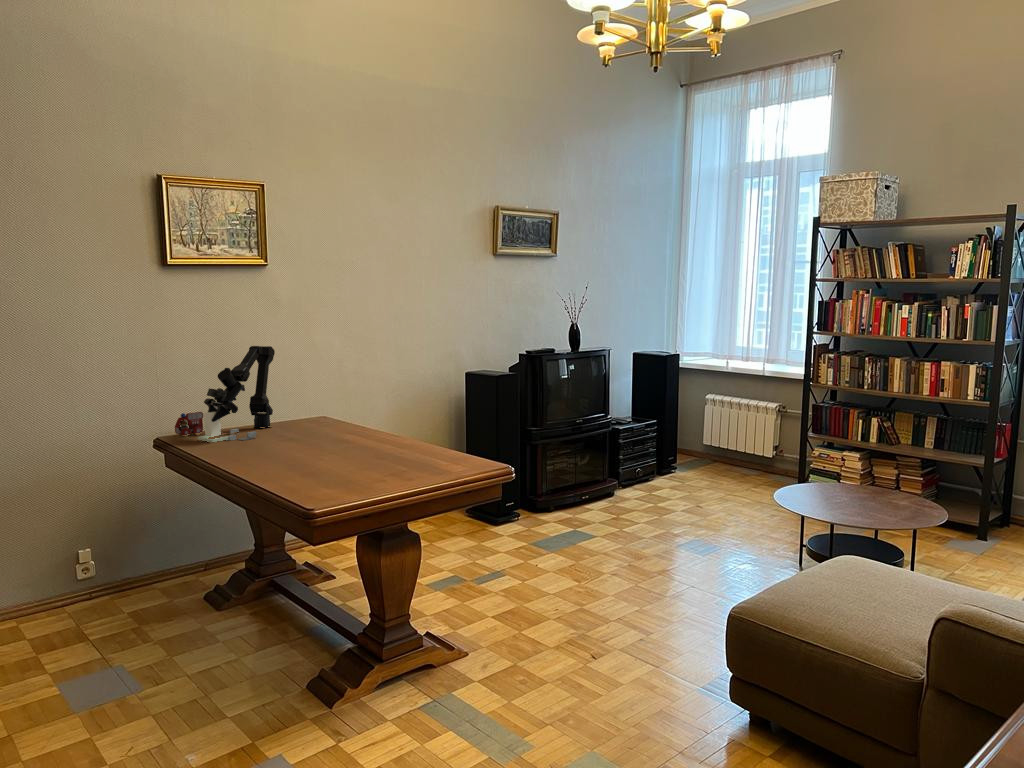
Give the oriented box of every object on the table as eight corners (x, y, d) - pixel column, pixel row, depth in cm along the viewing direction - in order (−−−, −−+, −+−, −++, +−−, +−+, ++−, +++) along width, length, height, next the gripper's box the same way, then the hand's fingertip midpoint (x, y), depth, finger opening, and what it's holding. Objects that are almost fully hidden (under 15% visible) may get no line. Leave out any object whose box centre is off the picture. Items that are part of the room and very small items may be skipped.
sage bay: (215, 437, 335) (215, 434, 334) (229, 439, 328) (229, 436, 328) (196, 440, 328) (196, 437, 327) (210, 443, 321) (210, 439, 321)
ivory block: (215, 434, 331) (213, 411, 330) (221, 435, 328) (219, 412, 327) (205, 435, 327) (203, 413, 326) (211, 436, 324) (209, 413, 323)
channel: (231, 431, 348) (230, 427, 348) (263, 437, 333) (263, 432, 333) (205, 436, 338) (204, 431, 338) (237, 441, 323) (236, 437, 322)
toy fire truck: (173, 436, 341) (171, 413, 340) (201, 432, 349) (200, 410, 348) (177, 438, 336) (176, 415, 335) (206, 434, 343) (204, 412, 342)
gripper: (206, 380, 334) (184, 408, 326) (229, 382, 322) (207, 411, 315) (223, 395, 341) (202, 423, 333) (247, 398, 329) (226, 427, 322)
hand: (209, 420), depth 326 cm, fingers closed on ivory block, 5 cm apart
